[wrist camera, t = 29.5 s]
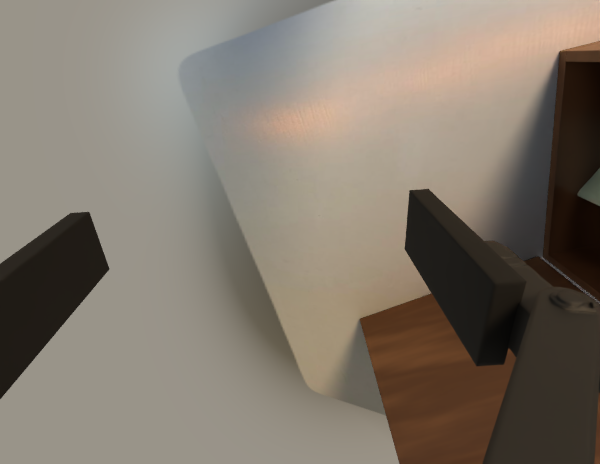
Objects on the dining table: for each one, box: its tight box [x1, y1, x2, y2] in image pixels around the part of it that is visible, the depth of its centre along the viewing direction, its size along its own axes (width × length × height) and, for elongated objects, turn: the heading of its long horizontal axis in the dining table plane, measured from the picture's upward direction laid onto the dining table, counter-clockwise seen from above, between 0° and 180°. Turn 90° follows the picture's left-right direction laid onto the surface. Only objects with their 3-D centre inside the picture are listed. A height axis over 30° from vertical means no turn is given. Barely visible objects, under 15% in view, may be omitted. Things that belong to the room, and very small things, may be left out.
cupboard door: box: [360, 257, 600, 464], centre depth 47 cm, size 7×30×30 cm, turn 113°
